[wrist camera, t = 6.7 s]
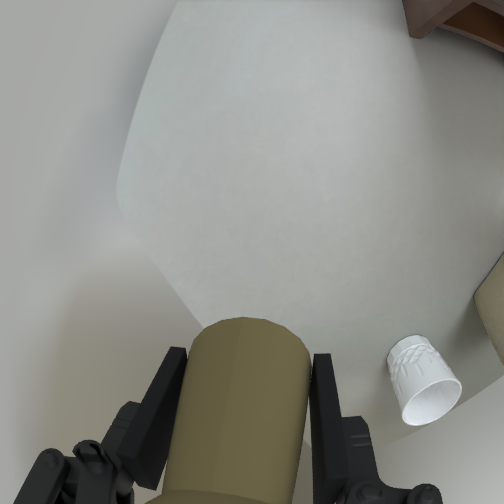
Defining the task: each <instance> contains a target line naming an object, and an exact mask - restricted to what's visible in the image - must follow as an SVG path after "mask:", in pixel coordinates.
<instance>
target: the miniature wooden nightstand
mask: <svg viewBox="0 0 504 504" xmlns="http://www.w3.org/2000/svg"><path fill="white" fill-rule="evenodd" d="M402 1H403V5H404V10H405V14H406V19H407V24H408V30H409V36H410V37H414V38H418V39H421V38H423V37H424V36H425V35H427V34H428V33H430V32H431V31H432V30H434V29H435V28H436V27H439V28H442V29H445V30H448V31H451V32H454V33H457V34H460V35H462V36H465V37H468V38H470V39H473V40H475V41H478V42H480V43H483V44H485V45H487V46H490V47H492V48H494V49H496V50H498V51H501V52H503V53H504V0H402Z"/></svg>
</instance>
